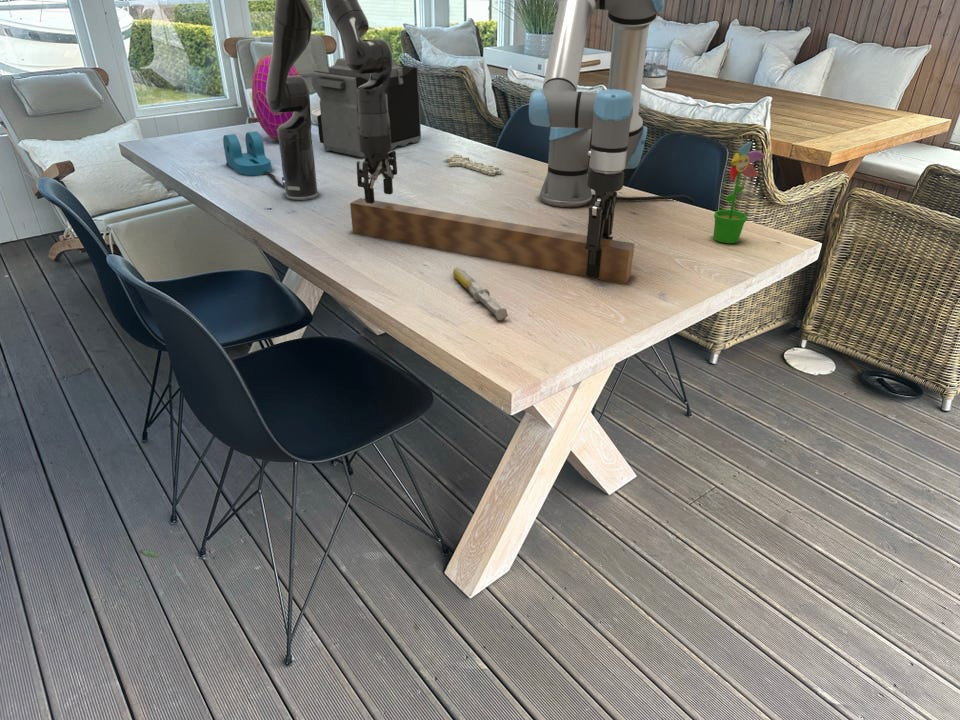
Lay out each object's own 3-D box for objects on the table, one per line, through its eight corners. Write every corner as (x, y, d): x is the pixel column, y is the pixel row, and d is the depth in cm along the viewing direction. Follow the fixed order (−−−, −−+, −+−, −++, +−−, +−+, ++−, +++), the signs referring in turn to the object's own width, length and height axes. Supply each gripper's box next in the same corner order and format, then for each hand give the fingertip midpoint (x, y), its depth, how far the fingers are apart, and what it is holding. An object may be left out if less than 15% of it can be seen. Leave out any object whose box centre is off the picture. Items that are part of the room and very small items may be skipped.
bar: (630, 276, 155) (634, 243, 151) (625, 284, 152) (629, 250, 148) (362, 227, 181) (360, 198, 177) (352, 233, 178) (350, 202, 173)
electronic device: (383, 133, 276) (378, 52, 261) (425, 141, 265) (422, 56, 250) (314, 150, 251) (304, 61, 235) (358, 160, 240) (350, 67, 224)
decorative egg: (293, 132, 276) (283, 50, 261) (319, 140, 264) (310, 56, 249) (249, 139, 265) (236, 54, 250) (273, 148, 253) (261, 60, 238)
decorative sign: (435, 158, 239) (457, 153, 245) (435, 161, 240) (457, 156, 245) (485, 174, 222) (507, 169, 228) (485, 177, 223) (507, 172, 228)
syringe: (449, 274, 155) (449, 263, 153) (465, 272, 156) (464, 260, 154) (490, 323, 135) (491, 310, 133) (508, 319, 136) (508, 307, 134)
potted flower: (724, 247, 171) (744, 145, 158) (701, 237, 177) (720, 137, 164) (751, 241, 175) (774, 141, 162) (728, 231, 181) (748, 134, 168)
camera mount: (227, 164, 233) (221, 132, 227) (257, 160, 238) (252, 129, 233) (244, 176, 220) (239, 143, 215) (276, 172, 225) (271, 139, 220)
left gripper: (377, 124, 170) (382, 189, 179) (344, 135, 159) (350, 204, 167) (403, 127, 168) (406, 192, 176) (371, 138, 157) (376, 208, 165)
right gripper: (601, 157, 152) (591, 256, 164) (576, 177, 138) (567, 283, 150) (634, 161, 150) (622, 261, 161) (612, 182, 136) (600, 289, 148)
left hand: (379, 198), depth 172 cm, fingers open, 8 cm apart
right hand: (595, 272), depth 156 cm, fingers closed on bar, 5 cm apart
